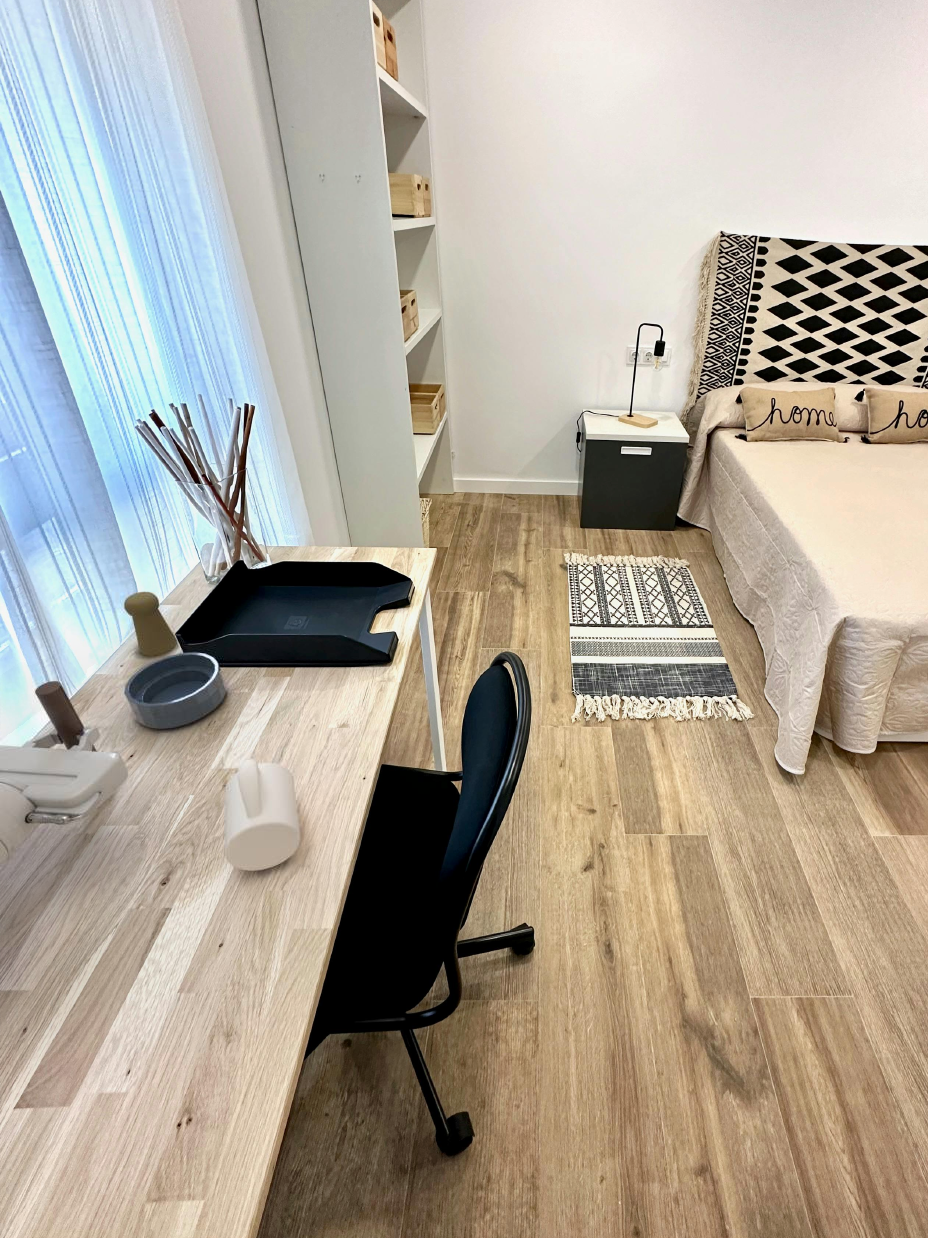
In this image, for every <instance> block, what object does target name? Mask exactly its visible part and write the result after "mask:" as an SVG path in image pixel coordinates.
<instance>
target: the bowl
mask: <svg viewBox="0 0 928 1238" xmlns="http://www.w3.org/2000/svg"><path fill="white" fill-rule="evenodd" d="M123 693H124V696H125V698H126V701H127V703H128V705H129V707H130V709H131V711H132V714H133V715H134V717H135V719H136V721H137V722H138V723H139V724H141V725H142V726H145V728H151V729H157V730H161V729H163V730H164V729H173V728H177V727H180V726H185V725H188V724H191V723H192V722H195V721H197V720H199V719H202V718H204V717H205V716H207V715H208V714H209V713H211V712H213V711H214V710H215V709H216V708H217V707H218V706H219V705H220V704H221V703H222V702H223V700H224V698H225V696H226V693H227V685H226V681H225V679H224V676H223V673H222V669H221V666H220V664H219V662H218V660H216V658H215V657H214V656H211V655H209V654H207V653H202V652H192V651H191V652H181V653H175V654H171V655H167V656H164V657H162V658H158V659H157V660H154V661H151V662H150V663H148V664H146V665H145V666H143V667H141V668H140V669H138V670H137V671H136V672H135V673H134V674H132V676H130V678H129V679H128V681H127V682H126V683H125V686H124V692H123Z"/></svg>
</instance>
